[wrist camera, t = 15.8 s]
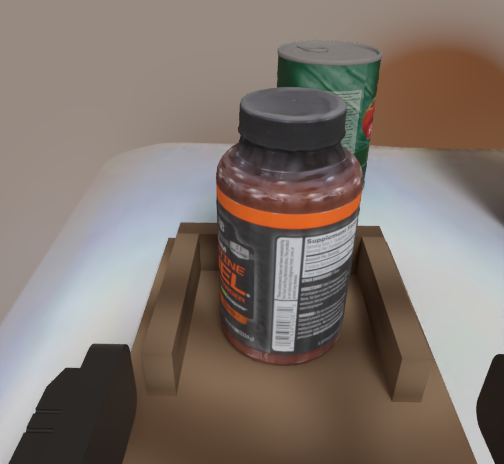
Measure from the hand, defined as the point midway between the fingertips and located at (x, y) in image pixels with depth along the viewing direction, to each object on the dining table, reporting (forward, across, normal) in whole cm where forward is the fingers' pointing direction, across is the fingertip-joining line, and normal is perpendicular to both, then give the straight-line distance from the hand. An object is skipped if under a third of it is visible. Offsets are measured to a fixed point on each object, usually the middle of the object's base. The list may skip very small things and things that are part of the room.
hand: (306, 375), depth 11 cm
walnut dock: (+10, 0, +10) cm, 14 cm away
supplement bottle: (+10, 0, +8) cm, 13 cm away
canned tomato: (+31, -4, +10) cm, 32 cm away
